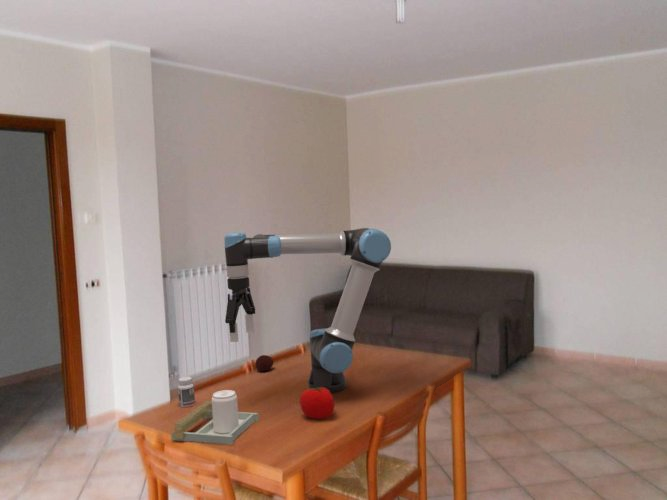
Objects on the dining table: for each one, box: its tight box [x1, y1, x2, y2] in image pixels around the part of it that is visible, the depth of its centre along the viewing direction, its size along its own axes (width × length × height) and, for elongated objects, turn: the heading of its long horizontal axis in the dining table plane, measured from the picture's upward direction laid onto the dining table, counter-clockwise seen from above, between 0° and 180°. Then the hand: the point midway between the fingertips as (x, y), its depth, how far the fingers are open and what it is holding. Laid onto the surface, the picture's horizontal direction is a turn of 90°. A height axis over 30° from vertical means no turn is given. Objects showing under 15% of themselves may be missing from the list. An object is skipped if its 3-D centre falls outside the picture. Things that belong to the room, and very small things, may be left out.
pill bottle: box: [177, 376, 196, 408], centre depth 216 cm, size 6×6×10 cm
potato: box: [255, 354, 274, 372], centre depth 256 cm, size 7×8×7 cm
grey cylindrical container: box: [211, 389, 239, 433], centre depth 189 cm, size 8×8×12 cm
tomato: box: [299, 387, 335, 420], centre depth 198 cm, size 11×13×10 cm
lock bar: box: [171, 400, 212, 439], centre depth 193 cm, size 4×23×4 cm, turn 164°
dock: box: [170, 411, 259, 446], centre depth 191 cm, size 21×20×2 cm
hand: (242, 336), depth 207 cm, fingers open, 13 cm apart
